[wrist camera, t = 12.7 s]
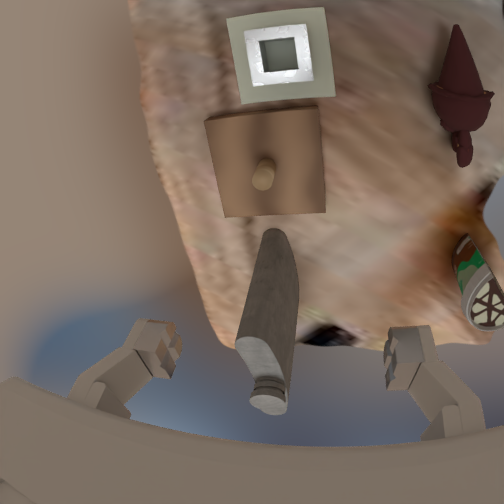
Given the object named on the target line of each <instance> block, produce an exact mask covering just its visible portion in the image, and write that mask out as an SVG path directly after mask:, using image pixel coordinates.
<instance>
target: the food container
mask: <svg viewBox="0 0 504 504" xmlns="http://www.w3.org/2000/svg"><path fill="white" fill-rule="evenodd" d="M452 266H453V269H454V272H455V275H456V278H457V281H458V284H459V287H460V290H461V293H462V300H461V308H462V311H463V314H464V315H465V317H466V318H467V320H468V321H469V322H470V323H471V324H472V325H473V326H474V327H475V328H477V329H479V330H482V331H494V330H499V329H502V328H504V293H503V291H502V289H501V287H500V285H499V283H498V281H497V279H496V278H495V276H494V274H493V272H492V271H491V269H490V267H489V266H488V264H487V262H486V261H485V259H484V258H483V256H482V254H481V253H480V251H479V250H478V248H477V247H476V245H475V244H474V242H473V241H472V239H471V238H470V236H469V235H468V233H466V234H465V235H464V236H463V237H462V238H461V240H460V241H459V243H458V244H457V246H456V247H455V250H454V252H453V255H452Z"/></svg>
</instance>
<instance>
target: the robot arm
mask: <svg viewBox="0 0 504 504" xmlns="http://www.w3.org/2000/svg"><path fill="white" fill-rule="evenodd" d="M175 330H176V326H175V324H174V323H173V322H167V321H159V320H151V319H142V318H140V319H138V320H137V321H136V323H135V324H134V326H133V328H132V330H131V332H130V333H129V335H128V337H127V339H126V341H125V343H124V345H123V346H122V348H120V347H119V348H117V349H116V350H115V351H113V352H112V353H110V354H109V355H107V356H106V357H105V358H103V359H102V360H100V361H99V362H97V363H96V364H94V365H93V366H92V367H90V368H89V369H87V370H86V371H84V372H83V373H82V374H80V375H79V376H78V378H77V380H76V382H75V384H74V386H73V387H72V389H71V391H70V393H69V395H68V397H67V398H65V397H62V396H59V395H57V394H55V393H52V392H50V391H47V390H45V389H42V388H40V387H38V386H36V385H33V384H31V383H29V382H27V381H25V380H23V379H21V378H18V377H11V378H9V379H7V380H5V381H3V382H2V383H0V504H504V425H502V426H498V427H494V428H491V429H486V427H485V421H484V416H483V411H482V406H481V401H480V399H479V398H478V397H477V396H476V395H475V394H474V392H473V391H472V390H470V388H469V387H468V386H467V385H466V384H465V383H464V382H463V381H462V380H461V379H460V378H459V377H458V376H457V375H456V374H455V373H454V372H453V371H452V370H451V369H450V368H449V367H448V366H447V365H446V364H445V363H444V362H443V361H439V359H438V355H437V351H436V347H435V343H434V339H433V335H432V331H431V328H430V326H429V325H425V326H403V327H390V329H389V331H388V340H387V341H386V342H385V347H384V366H385V367H386V368H387V372H386V375H385V378H386V389H387V391H393V390H394V391H395V390H408V392H409V393H410V395H411V396H412V397H413V399H414V400H415V402H416V403H417V404H418V406H419V407H420V409H421V410H422V411H423V413H424V414H425V416H426V417H427V418H428V420H429V421H430V423H431V424H430V425H429V426H428V428H427V429H426V430H425V431H424V432H423V434H422V435H421V436H420V437H421V441H420V442H413V443H403V444H393V445H378V446H361V447H360V446H358V447H305V446H287V445H273V444H272V445H271V444H261V443H251V442H243V441H235V440H227V439H221V438H214V437H208V436H202V435H197V434H191V433H186V432H181V431H176V430H172V429H167V428H163V427H158V426H154V425H150V424H146V423H143V422H139V421H135V420H131V419H130V416H131V413H130V411H129V410H127V408H126V407H125V406H124V404H125V403H126V402H127V401H128V400H129V399H130V398H131V397H132V396H134V395H135V394H136V393H137V392H138V391H139V390H140V389H141V388H142V387H143V386H144V385H146V384H147V383H148V382H149V381H150V380H151V379H152V378H153V377H159V378H167V379H171V378H172V375H173V372H174V370H175V367H176V365H175V362H174V361H175V360H176V359H178V358H179V357H180V354H181V351H182V340H181V337H180V335H179V334H177V333H176V332H175Z"/></svg>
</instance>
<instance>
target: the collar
mask: <svg viewBox="0 0 504 504" xmlns="http://www.w3.org/2000/svg"><path fill="white" fill-rule="evenodd" d="M244 37H245V43H246V48H247V54H248V60H249V66H250V71H251V77H252V83H253V86H261V85H270V84H279V83H290V82H303V81H314V79H313V71H312V63H311V56H310V49H309V42H308V35H307V29H306V24H298V25H287V26H277V27H269V28H261V29H254V30H248V31H244ZM291 39H295V46H296V53H297V59H298V66H299V68H290V69H280V70H270V71H269V67H268V61H267V55H266V49H265V43H264V42H272V41H281V40H291Z"/></svg>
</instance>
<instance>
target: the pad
mask: <svg viewBox="0 0 504 504" xmlns="http://www.w3.org/2000/svg"><path fill="white" fill-rule="evenodd" d="M226 21H227V26H228V32H229V37H230V42H231V48H232V53H233V59H234V64H235V70H236V75H237V81H238V87H239V92H240V98H241V104H249V103H257V102H266V101H276V100H287V99H299V98H315V97H336V94H335V84H334V75H333V66H332V58H331V50H330V43H329V36H328V29H327V23H326V17H325V10H324V7H316V8H301V9H289V10H279V11H271V12H263V13H256V14H250V15H244V16H238V17H233V18H227V19H226ZM298 24H306V29H307V35H308V42H309V49H310V56H311V63H312V71H313V79H314V81H303V82H290V83H279V84H270V85H261V86H253V83H252V77H251V71H250V66H249V60H248V54H247V48H246V43H245V37H244V31H248V30H254V29H261V28H269V27H277V26H287V25H298ZM264 43H265V49H266V55H267V61H268V67H269V71H270V70H280V69H290V68H299V66H298V59H297V53H296V46H295V39H291V40H281V41H272V42H264Z"/></svg>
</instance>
